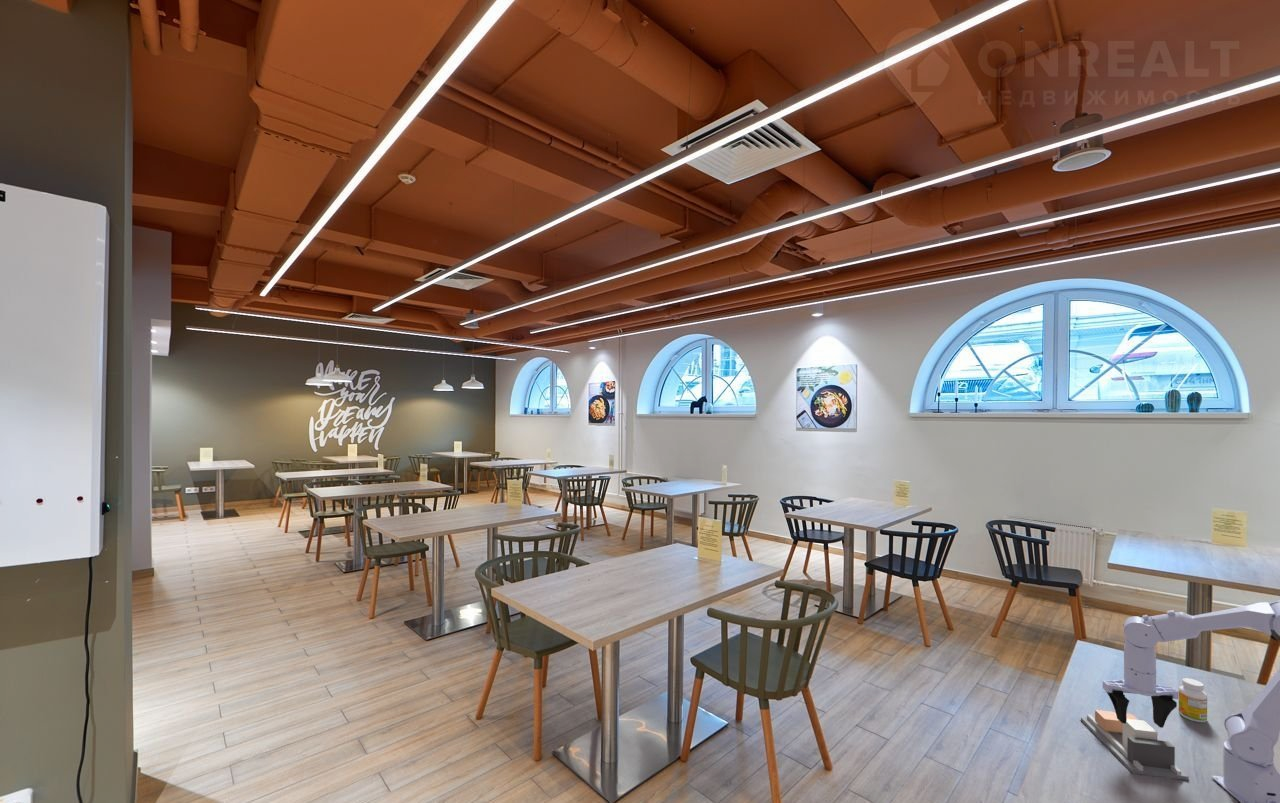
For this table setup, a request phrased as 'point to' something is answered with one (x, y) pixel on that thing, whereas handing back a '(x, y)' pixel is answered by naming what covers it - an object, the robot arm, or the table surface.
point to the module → (1137, 731)
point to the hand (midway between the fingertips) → (1139, 723)
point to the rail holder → (1139, 752)
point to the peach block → (1110, 720)
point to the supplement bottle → (1193, 700)
